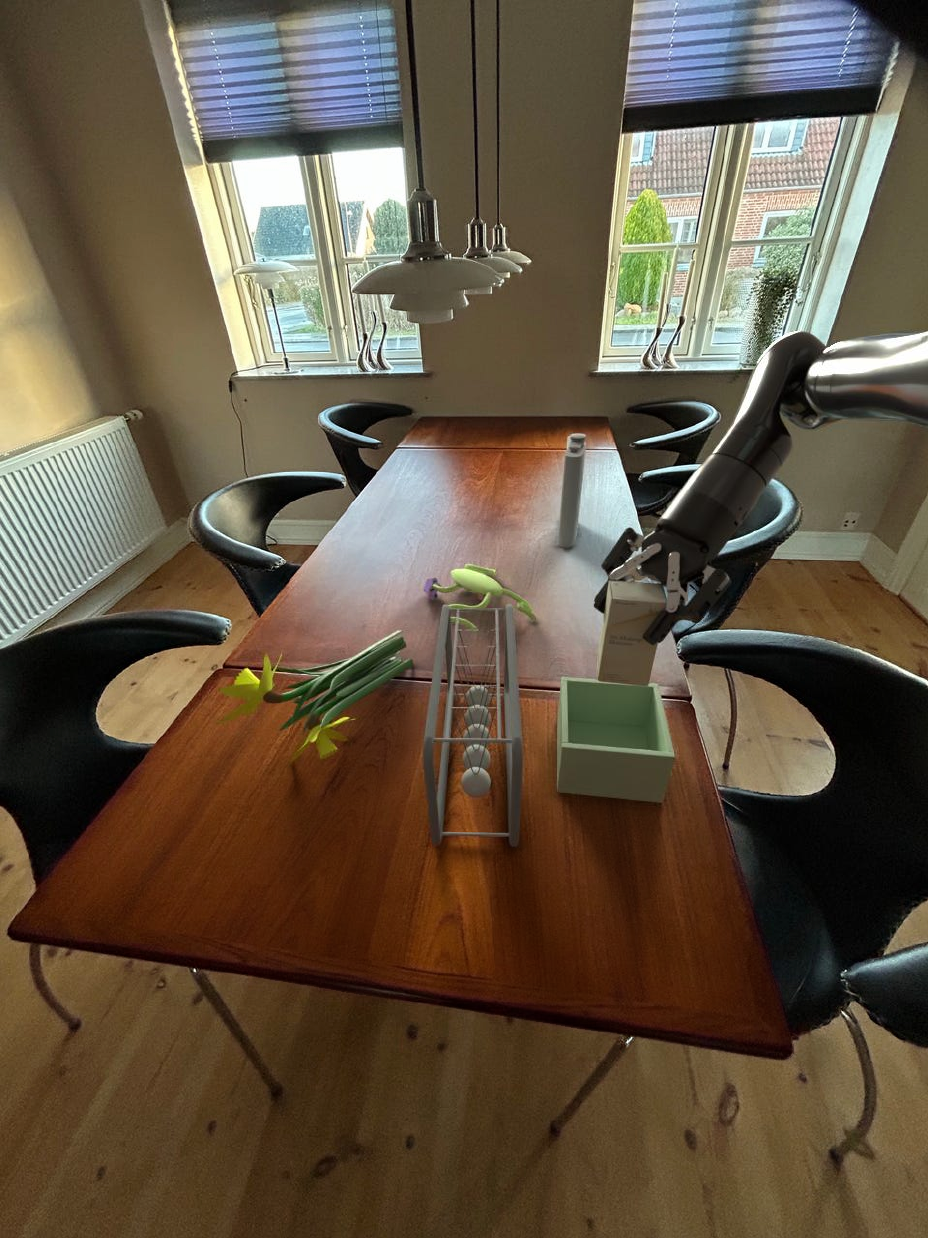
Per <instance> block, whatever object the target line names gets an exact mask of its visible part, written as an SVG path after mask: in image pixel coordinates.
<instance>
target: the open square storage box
mask: <svg viewBox="0 0 928 1238" xmlns="http://www.w3.org/2000/svg"><path fill="white" fill-rule="evenodd" d="M556 721H557V723H556V762H557V763H556V792H557V793H561V794H570V795H581V796H590V797H601V798H611V799H618V800H619V799H621V800H630V801H639V802H648V803H649V802H650V803H660V804H662V803H663V802H664V798H665V794H666V793H667V792H666V791H667V788H668V784H669V781H670V778H671V773H672V771H673V767H674V764H675V760H676V755H675V750H674V745H673V742H672V736H671V733H670V729H669V724H668V719H667V716H666V712H665V708H664V702H663V699H662V694H661V690H660V685H659V683H652V682H649V684H648V686H638V685H629V684H619V683H609V682H600V681H598V678H584V677H583V678H582V677H570V676H569V677H567V676H561V678H560V688H559V699H558V708H557V718H556Z"/></svg>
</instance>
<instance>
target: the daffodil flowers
mask: <svg viewBox="0 0 928 1238" xmlns="http://www.w3.org/2000/svg"><path fill="white" fill-rule="evenodd" d="M403 632H404V630H402V629H398V630H396V631H394V632H392V633H391V634H389V635H387V636H385V637H383V638H382V639H379V640H378V641H376V642H375V643H373V644H372V645H370V646H367V648H364V649H363V650H362V651H360V652H359V653H357V654H355V655H353V656H352V657H349V658H346V659H342V660H339V661H335V662H332V663H328V664H324V665H320V666H315V667H311V668H302V669H301V668H296V667H292V666H289V667H282V666H281V667H280V666H278V665H279V663H280V662H281V661H280V660H281V659H282V656H283V651H284V649H282V650H281V653H280V656H279V658H278V661H277V664H276V665H275V666H272V664H271V661H270V657H269V655H268V652H265V654H264V657H263V668H262V672H261V675H260V679H259V678H258V677H257V676H255V674H254V673H253V672H252V671H251V670H250V669H249V668H248V667H246V668H244V669H241V672H238V676H235V678H236V679H234V680H233V681H234V682H233V685H228V686H221V687H218V688H217V690H218V691H219V692H220V693H222V694H224V695H225V696H227V697H229V698H233V699H245V700H246V701H244V702H243V703H241V704H240V705H239V706H237V708H235V709H234V710H233V711H231V712H230V713H228V714H227V715H226V716H224V717H223V718H221V720H220V721H218V722H217V723H216V724H215V725H216V726H217V725H221V724H223V723H227V722H231V721H233V720H234V719H237V718H238V717H240V716H241V715H243V714H244V715H243V717H242V718H243V719H245V718H246V717H248V716H249V715H251V714H253V713H254V712H255V711H257V710H258V708H259V707H260V705H261V704H262V702H263V701H264V702H265V703H266V704H282V703H286V702H290V701H292V700H293V704H297V705H296V707H295V709H294V711H293V713H292V716H291V717H289V719H287V720H286V721H285V722H284V724H283V725H282V726H281V727H280V728H279V730H278V732H281V731H284V730H286V729H287V728H289V727H291V726H292V725H294V724H295V723H297V722H298V721H300V720H301V719H303V718H305V717H306V716H307V717H306V721H305V723H304V727H303V731H302V736H304V734H305V733H306V730H307V729H308V730H309V732H308V733H307V734H306V735H305V736H304V739H303V741H302V742H301V744H299V746H297V748H295V750H294V752H293V753H292V758H291V759H290V760H289V763H288V766H287V767H289V766H290V764H291V763H292V762H294V761H295V760H296V759H298V757H299V756H300V755H302V753H303V752H304V751H305V750H306V749H307V748H308V747H309V746H311V744H312V743H314V742H315V744H316V745H315V746H316V749H317V752H318V756H319V760H324V758H325V759H327V758H330V757H331V755H333V756H334V755H335V754H337V752H339V749H338V748H337V746H336V745H335V744H334V742H333V741H332V740H339V741H343V742H347V741H349V738H347V737H346V736H345V735H344V734H342V733H341V732H339V731H337V730H336V729H334V728H335V727H337V726H340V725H341V724H344V723H346V722H349V721H350V719H349V717H348V716H344V717H341V718H339V719H338V720H337V719H336V721H333V722H332V720H334V719H335V718H336V717H337V716H339V715H340V714H341V713H343V712H344V711H345V710H347V709H348V708H349V707H351V706H353V705H354V704H356V703H358V702H359V701H361V700H362V699H364V698H365V697H367V696H368V695H370V694H371V693H373V692H374V691H376V690H377V689H379V688H380V687H382V686H383V685H384V684H386V683H388V682H390V681H391V680H393V679H394V678H396V677H397V676H399V675H400V674H402V673H403V672H405V671H406V670H408V669H410V668H411V667H413V666H414V665H415V663H414V660H413V658H411V657H409V658H408V659H406V660H405V661H404V660H403V658H402V657H401V656H399V657H397V655H399V654H400V653H401V651H402V650H404V649H406V648H407V642H406V640H405V639H404V636H403V635H401V636H399V637H398V635H400V634H402V633H403ZM272 669H273V670H272ZM276 670H278V671H281V672H284V673H288V674H292V675H293V674H295V675H309V676H314V677H311V678H309V679H305V680H302V681H299V682H296V683H293V684H290V685H288V686H286V687H284V689H285V690H289V689H290V691H287V692H278V691H277V690H274V689H273V688H275V687H276V686H277V683H275V682H273V678H274V675H275V672H276ZM323 670H324V671H323ZM292 689H293V690H292ZM315 697H316V698H315ZM313 698H314V699H313ZM309 700H311V701H309ZM307 701H309V702H308V703H307V704H305V703H306V702H307ZM321 715H322V717H321ZM320 717H321V720H320ZM348 719H349V720H348ZM357 719H358V720H359V719H360V720H361V719H365V716H363V717H359V718H357ZM353 720H355V718H353V719H351V721H353ZM332 728H333V729H332ZM334 753H335V754H334ZM286 769H287V768H285V770H284V771H286Z"/></svg>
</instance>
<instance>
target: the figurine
mask: <svg viewBox="0 0 928 1238" xmlns="http://www.w3.org/2000/svg"><path fill="white" fill-rule="evenodd" d="M498 572H499V570H498V568H495V569H492V568H487V567H483V566H479V565H475V564H471V563H466V564H465V565H464V568H454V569H452V570H451V571H450V577H451V578H452V580H453V581H454V582H455V584H453V585H452V584H451V585H450V586H446V587H442V585H441V584H440V583H439V581H438V578H436V577H433V578H428V579H426V581H425V584H424V587H423V592H424V593H425V594H426V596H427V597H429V598H430V599H431V600H435V599H437V598H438V596H439V594H438V592H439V593H444V594H446V593H452V592H454V591H456V590H458V589H462V588H463V589H464V590H466V592H467V593H468V592H471V593H474V594H476V597H477V599H478V600H480V601H481V603H479V604H476V605H466V604H463V603H462V604H461V603H452V604H448V605H449V607H450V609H486V608H487V606H488V605H489V603H490V601H491V600H492V597H493V598H494V597H495V598H496V597H500V596H503V595H504V596H506V597H510V598H511V599H514V600H515V601H516V602H517V605H516V609H517V610H518V611H519V612H520V613H522V614H524V615H525V616H527V617H528V618H529V619H530V621H533V622H534V621H536V620H537V617H536V615H535V614H534V613H532V611H533V609H532V606H531V605H530V603H529V602H528V601H527V600H525V598H523V597H522V596H520V595H519V594H518V593H515V592H514V591H512V590H509V589H506V588H502V586H501V585H500V584H499V583H498V582H497V581H496V580H495V579H493V578H492V577H490V576H489V575H497V574H498ZM483 596H484V597H483ZM483 598H484V599H483ZM468 612H469V613H470V612H471V613H475V612H476V613H477V611H467V613H468ZM451 624H455V625H456V617H455V616H451ZM458 625H461V626H463V627H466V628H467V630H469V631H470V632H471V633H476V632H478V627H477V626H476V625H475V624H474V623H472V622H471V621H469V620H468V619H466V618H462V617H459V624H458Z"/></svg>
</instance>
